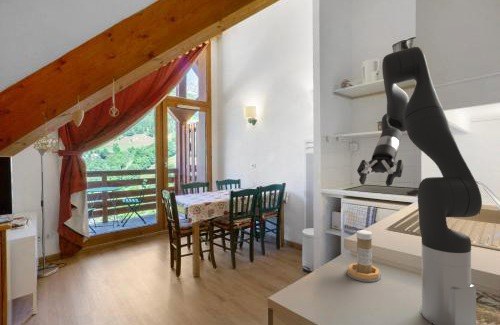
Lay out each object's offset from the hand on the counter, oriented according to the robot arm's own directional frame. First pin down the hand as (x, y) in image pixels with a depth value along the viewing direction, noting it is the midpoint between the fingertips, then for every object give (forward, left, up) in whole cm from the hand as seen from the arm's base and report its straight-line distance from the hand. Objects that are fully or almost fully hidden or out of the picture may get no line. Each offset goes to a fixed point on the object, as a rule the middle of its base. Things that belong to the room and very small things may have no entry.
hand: (374, 184), depth 90 cm
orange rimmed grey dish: (-4, +8, -29) cm, 30 cm away
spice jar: (-4, +8, -28) cm, 30 cm away
